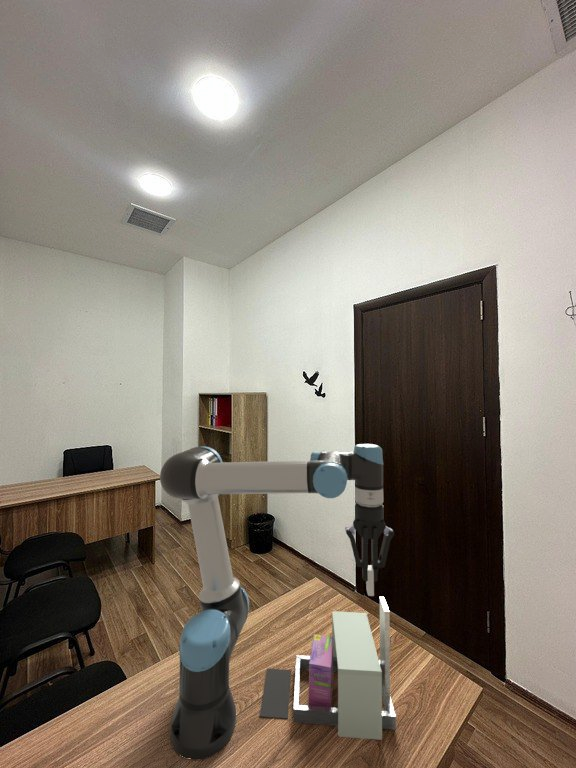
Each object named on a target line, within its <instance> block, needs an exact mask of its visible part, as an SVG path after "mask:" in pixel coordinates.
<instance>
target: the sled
mask: <svg viewBox="0 0 576 768" xmlns="http://www.w3.org/2000/svg"><path fill="white" fill-rule="evenodd" d="M390 613H391V612H390V610H389V606H388V604H387V601H386V599H385V597H384V596H379V663H380V667H381V671H382V703H383V706H384V708H385V710H382V730H392V731H395V730H396V728H397V726H396V722H397V721H396V720H397V719H396V713H395V709H394V705H393V703H392V698H391V657H390V656H391V652H390V651H391V646H390V645H391V643H390V642H391V640H390V638H391V637H390V634H391V633H390V632H391V631H390V629H391V628H390V625H391V624H390V617H391V616H390ZM295 656H296V657H295V670H294V674H295V675H294V676H295V677H294V692H293V695H294V696H293V712H292V713H293V715H292V716H293V720H292V722H293V723H298V724H299V723H300V724H309V725H310V724H311V725H312V724H313V725H327V726H337V727H338V707H333V706H331V707H321V706H309V705H304V704H303V705H302V704H300V689H301V688H300V687H301V686H300V682H301V670H302V671H303V670H305V671H309V662H310V655H300V654H296V655H295ZM334 672H335V673H336V672H337V673H338V666H337V657H333V673H334Z"/></svg>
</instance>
